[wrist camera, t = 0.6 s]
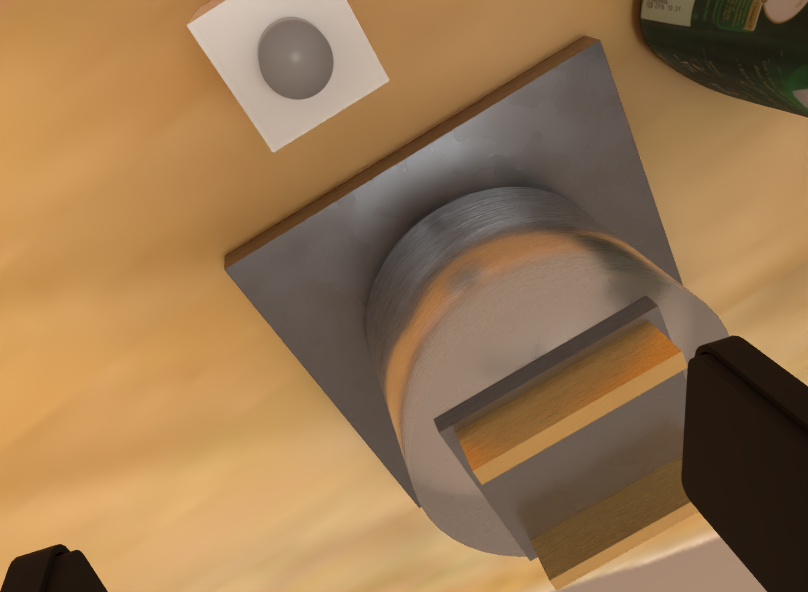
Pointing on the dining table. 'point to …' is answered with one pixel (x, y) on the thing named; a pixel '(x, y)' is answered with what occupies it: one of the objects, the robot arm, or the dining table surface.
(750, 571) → the robot arm
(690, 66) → the coffee jar
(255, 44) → the white block with knob
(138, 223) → the dining table surface
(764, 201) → the dining table surface
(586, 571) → the cylinder on square plate
